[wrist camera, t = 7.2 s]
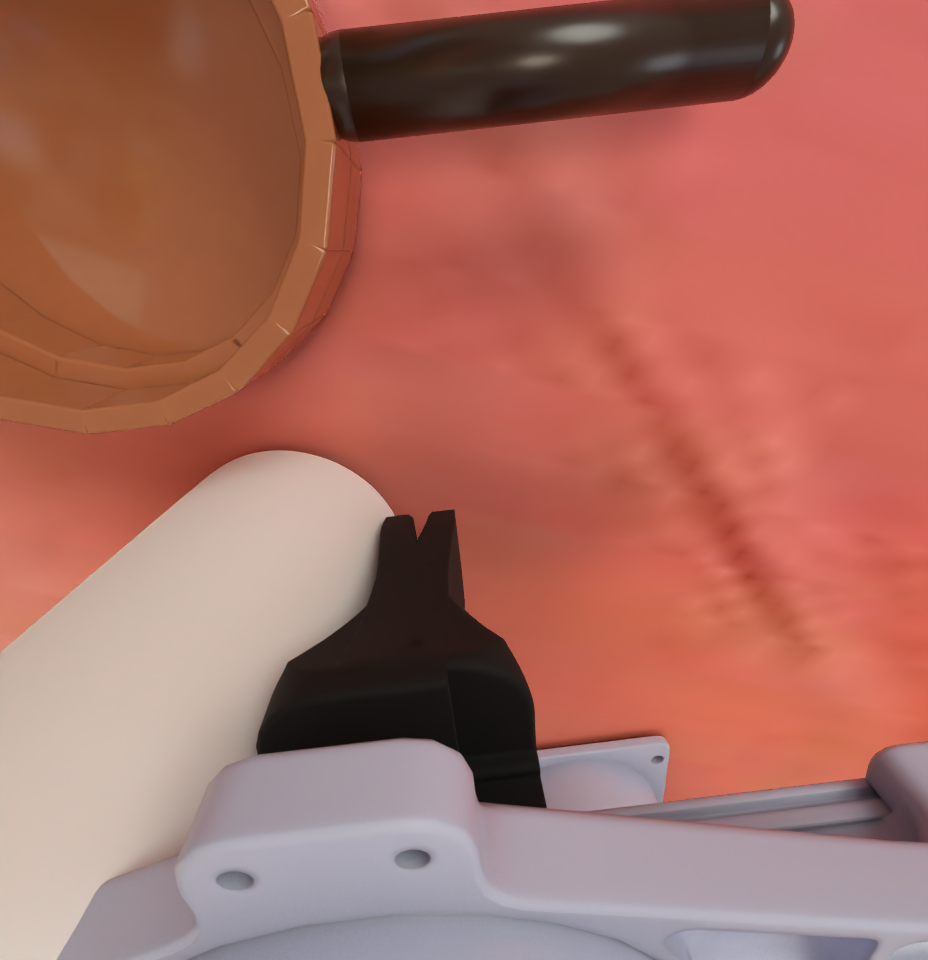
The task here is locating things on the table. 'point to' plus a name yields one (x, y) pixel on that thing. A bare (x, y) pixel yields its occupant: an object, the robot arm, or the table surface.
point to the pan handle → (549, 64)
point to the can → (165, 677)
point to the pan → (162, 204)
